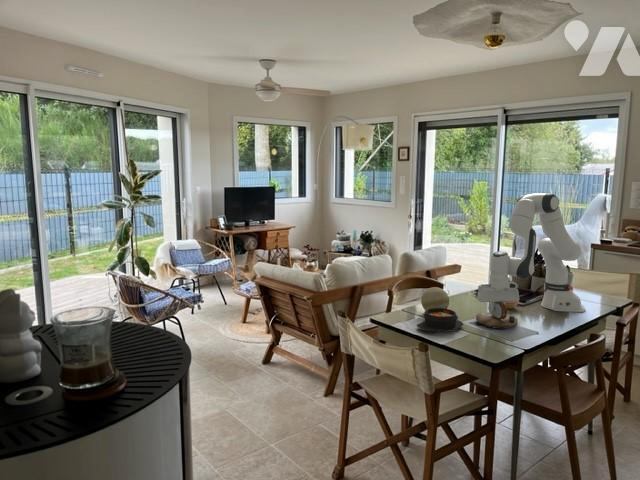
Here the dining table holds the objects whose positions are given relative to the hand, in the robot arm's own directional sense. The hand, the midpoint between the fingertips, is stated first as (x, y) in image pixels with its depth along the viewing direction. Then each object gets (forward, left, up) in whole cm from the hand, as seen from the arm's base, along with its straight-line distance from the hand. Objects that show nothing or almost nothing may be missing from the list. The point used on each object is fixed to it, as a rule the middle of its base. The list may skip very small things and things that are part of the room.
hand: (497, 309), depth 246 cm
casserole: (+26, +17, -8) cm, 32 cm away
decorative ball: (+32, -5, -8) cm, 33 cm away
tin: (0, 0, -4) cm, 4 cm away
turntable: (0, 0, -6) cm, 6 cm away
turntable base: (0, 0, -7) cm, 7 cm away
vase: (-4, -31, -8) cm, 32 cm away
